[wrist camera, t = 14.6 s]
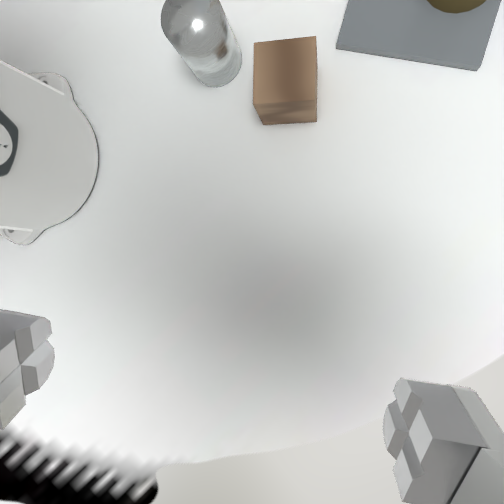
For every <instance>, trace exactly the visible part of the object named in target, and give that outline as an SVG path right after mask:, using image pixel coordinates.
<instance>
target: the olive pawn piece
mask: <svg viewBox="0 0 504 504" xmlns="http://www.w3.org/2000/svg"><path fill="white" fill-rule="evenodd" d="M427 1H428V2H429V3H430V4H431V5H432V6H433V7H434V8H436V9H438V10H440V11H443V12H446V13H456V14H457V13H462V12H467V11H470V10H472V9H474V8H476V7H478V6H480V5H482V4H483V3H484V2H485V1H486V0H427Z"/></svg>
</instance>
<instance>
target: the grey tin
mask: <svg viewBox="0 0 504 504" xmlns="http://www.w3.org/2000/svg"><path fill="white" fill-rule="evenodd" d="M161 26H162V29H163V32H164V34H165V35H166V37H167V38H168V40H169V41H170V42H171V44H172V45H173V46H174V48H175V49H176V50H177V52H178V53H179V54H180V56H181V57H182V58H183V60H184V61H185V62H186V64H187V65H188V66H189V68H190V69H191V70H192V72H193V73H194V74H195V76H196V77H197V78H198V79H199V81H200V82H202V83H203V84H205V85H207V86H210V87H221V86H224V85H226V84H228V83H229V82H231V81H232V80H233V79H234V78H235V77H236V75H237V74H238V72H239V70H240V67H241V63H242V54H241V50H240V48H239V45H238V43H237V41H236V38H235V36H234V34H233V31H232V29H231V27H230V24H229V22H228V20H227V17H226V15H225V13H224V11H223V8H222V6H221V4H220V1H219V0H166V1H165V3H164V6H163V8H162V13H161Z"/></svg>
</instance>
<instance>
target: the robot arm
mask: <svg viewBox="0 0 504 504" xmlns="http://www.w3.org/2000/svg"><path fill="white" fill-rule="evenodd" d="M97 168H98V148H97V142H96V138H95V135H94V132H93V130H92V127H91V125H90V123H89V122H88V120H87V118H86V117H85V116H84V114H83V113H82V112H81V111H80V109H79V108H78V107H77V105H76V104H75V102H74V100H73V96H72V93H71V89H70V86H69V84H68V82H67V80H66V79H65V78H64V77H62V76H60V75H58V74H56V73H33V74H26V73H25V72H23V71H21V70H19V69H17V68H15V67H13V66H11V65H9V64H7V63H5V62H3V61H1V60H0V235H1V236H3V237H5V238H6V239H8V240H10V241H11V242H13V243H15V244H20V245H28V244H30V243H31V242H33V241H34V240H35V239H36V238H37V237H38V236H39V235H40V234H41V233H42V231H43V230H45V229H47V228H49V227H51V226H54V225H56V224H59V223H61V222H63V221H65V220H66V219H68V218H69V217H71V216H72V215H73V214H74V213H75V212H76V211H78V209H79V208H80V207H81V206H82V205H83V203H84V202H85V201H86V199H87V197H88V196H89V194H90V192H91V190H92V187H93V185H94V182H95V178H96V174H97ZM51 334H52V329H51V323H50V321H49V320H48V319H46V318H45V317H40V316H35V315H30V314H24V313H19V312H14V311H9V310H2V309H0V429H2V430H3V429H4V428H5V427H6V426H7V425H8V424H9V423H10V421H11V420H12V419H13V418H14V417H15V416H16V415H17V414H18V412H19V411H20V410H21V409H22V408H23V407H24V406H25V405H26V395H28V394H30V393H32V392H34V391H36V390H38V389H40V387H41V386H42V385H43V384H44V383H45V381H46V380H47V379H48V377H49V375H50V373H51V370H52V368H53V365H54V359H55V354H54V348H53V347H52V345H51V344H50V343H49V342H48V340H47V338H48V337H49V336H50V335H51ZM393 391H394V394H395V397H396V400H395V401H394V402H392V403H391V404H389V405H388V406H387V409H386V412H385V415H384V422H383V434H384V440H385V444H386V448H387V450H388V452H389V453H390V454H391V455H392V456H393V457H394V458H395V459H396V460H397V461H396V463H395V466H394V468H393V472H394V475H395V479H396V482H397V485H398V489H399V492H400V496H401V499H402V502H406V503H411V504H504V433H503V431H502V430H501V428H500V427H499V425H498V424H497V423H496V421H495V419H494V418H493V416H492V415H491V414H490V412H489V411H488V409H487V407H486V406H485V404H484V403H483V402H482V400H481V398H480V397H479V396H478V394H477V393H476V392H475V391H474V390H472V389H471V388H468V387H462V386H455V385H448V384H447V385H444V384H438V383H432V382H426V381H419V380H413V379H407V378H400V379H399V380H398V381H397V383H396V385H395V388H394V390H393Z"/></svg>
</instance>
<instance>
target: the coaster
mask: <svg viewBox="0 0 504 504" xmlns="http://www.w3.org/2000/svg"><path fill="white" fill-rule="evenodd" d="M500 2H501V0H486V1H485V2H484V3H483V4H482V5H480V6H478V7H476V8H474V9H472V10H470V11H467V12H462V13H457V14H456V13H446V12H443V11H440V10H438V9H436V8H434V7H433V6H432V5H431V4H430V3H429V2H428V1H427V0H349V2H348V5H347V9H346V12H345V16H344V19H343V23H342V26H341V30H340V34H339V37H338V41H337V47H336V49H342V50H349V51H355V52H361V53H367V54H374V55H380V56H386V57H392V58H399V59H405V60H411V61H417V62H423V63H430V64H436V65H442V66H448V67H455V68H461V69H467V70H473V71H477V70H478V69H479V68H480V66H481V63H482V60H483V57H484V54H485V51H486V47H487V44H488V41H489V38H490V34H491V31H492V28H493V25H494V21H495V18H496V15H497V12H498V9H499V5H500Z"/></svg>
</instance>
